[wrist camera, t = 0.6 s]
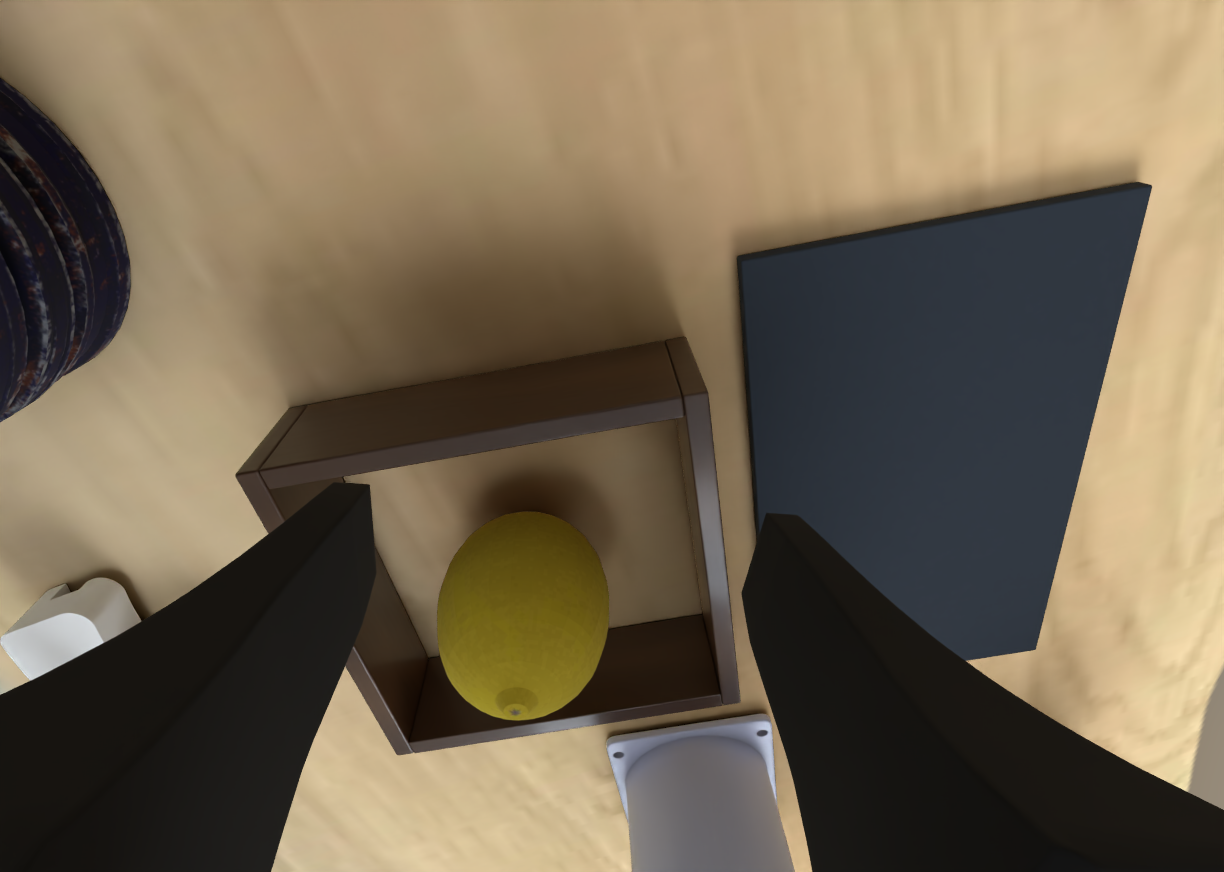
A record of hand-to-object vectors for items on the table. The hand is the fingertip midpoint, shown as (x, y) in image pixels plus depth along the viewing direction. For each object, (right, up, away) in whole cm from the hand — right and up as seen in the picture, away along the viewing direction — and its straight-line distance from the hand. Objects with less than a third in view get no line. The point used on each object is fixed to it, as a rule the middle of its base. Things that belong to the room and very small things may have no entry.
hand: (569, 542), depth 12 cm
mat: (+12, 0, +13) cm, 17 cm away
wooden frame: (-2, -2, +13) cm, 13 cm away
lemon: (-2, -2, +13) cm, 13 cm away
